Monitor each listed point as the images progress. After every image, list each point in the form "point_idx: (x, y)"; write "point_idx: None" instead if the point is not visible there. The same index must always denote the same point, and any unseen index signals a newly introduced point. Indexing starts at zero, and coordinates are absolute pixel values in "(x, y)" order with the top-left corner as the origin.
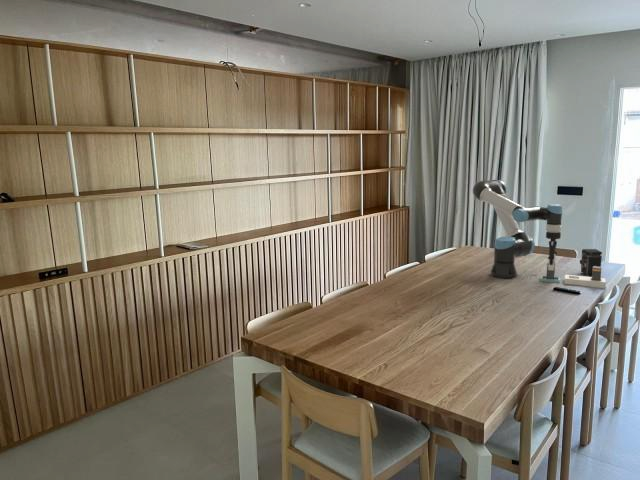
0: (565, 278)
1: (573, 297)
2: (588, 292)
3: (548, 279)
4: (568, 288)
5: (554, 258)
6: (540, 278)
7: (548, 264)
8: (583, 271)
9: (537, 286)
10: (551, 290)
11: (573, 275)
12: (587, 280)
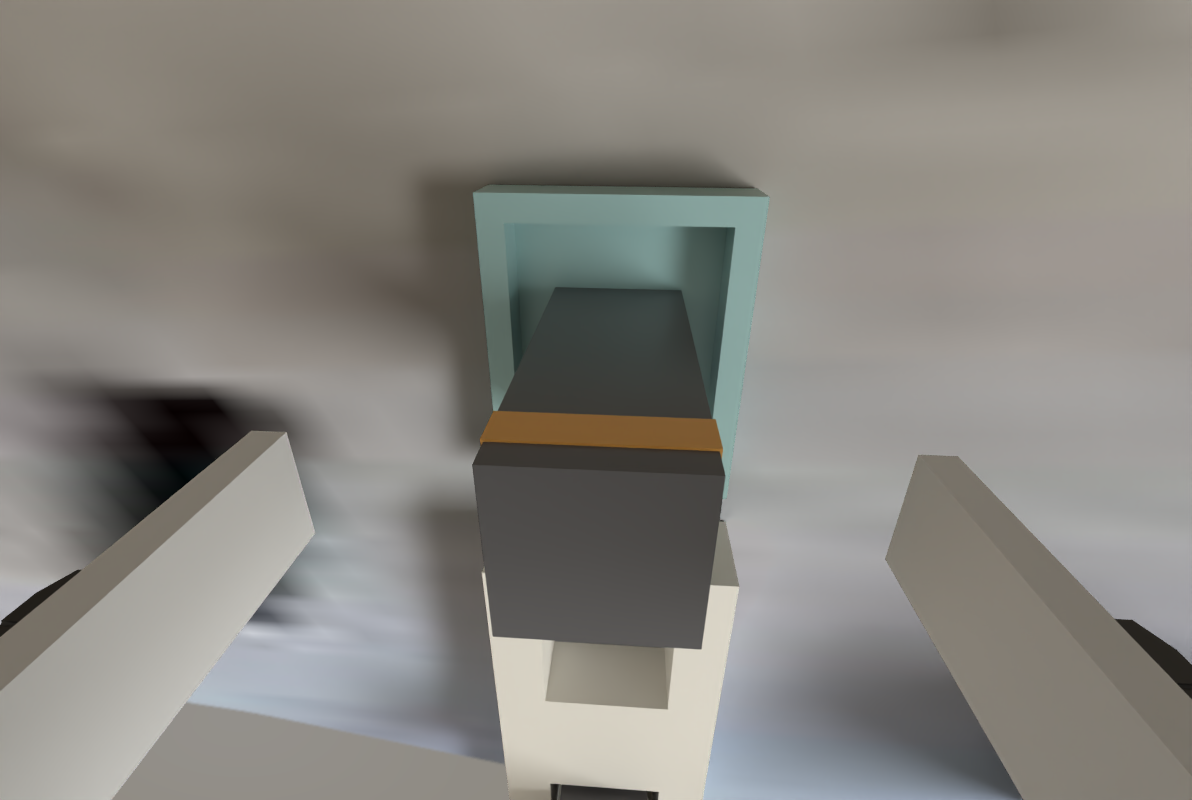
0: (484, 581)
1: (3, 569)
2: (294, 680)
3: (488, 337)
4: (325, 543)
5: (1001, 736)
6: (482, 194)
7: (479, 489)
8: None
9: (136, 160)
10: (81, 371)
11: (721, 667)
12: (509, 759)
